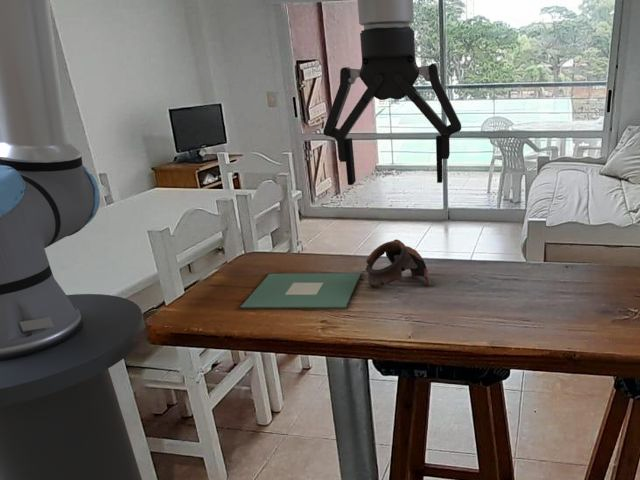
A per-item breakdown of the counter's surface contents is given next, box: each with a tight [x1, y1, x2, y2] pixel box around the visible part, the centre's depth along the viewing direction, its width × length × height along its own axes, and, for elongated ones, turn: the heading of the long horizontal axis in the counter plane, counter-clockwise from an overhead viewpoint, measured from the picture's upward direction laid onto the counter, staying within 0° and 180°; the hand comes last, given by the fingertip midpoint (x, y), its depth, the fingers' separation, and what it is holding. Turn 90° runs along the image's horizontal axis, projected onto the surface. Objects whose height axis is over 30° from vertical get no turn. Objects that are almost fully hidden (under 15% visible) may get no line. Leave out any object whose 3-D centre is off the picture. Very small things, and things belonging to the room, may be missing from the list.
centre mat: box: [240, 272, 362, 310], centre depth 92 cm, size 16×14×1 cm
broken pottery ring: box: [365, 239, 431, 288], centre depth 93 cm, size 12×10×8 cm
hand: (395, 182), depth 88 cm, fingers open, 13 cm apart
